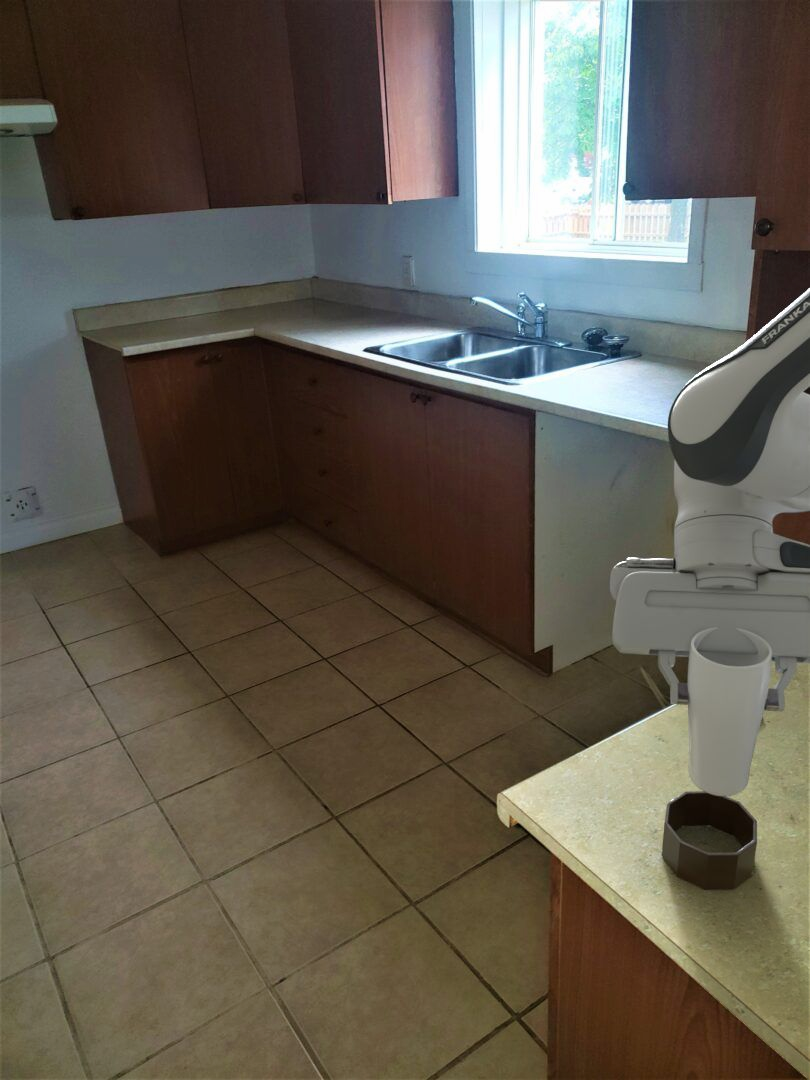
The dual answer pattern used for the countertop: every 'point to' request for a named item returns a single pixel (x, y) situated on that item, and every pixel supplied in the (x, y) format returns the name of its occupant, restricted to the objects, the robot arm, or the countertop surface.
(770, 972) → the countertop surface
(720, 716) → the drinking glass
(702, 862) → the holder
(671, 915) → the countertop surface
